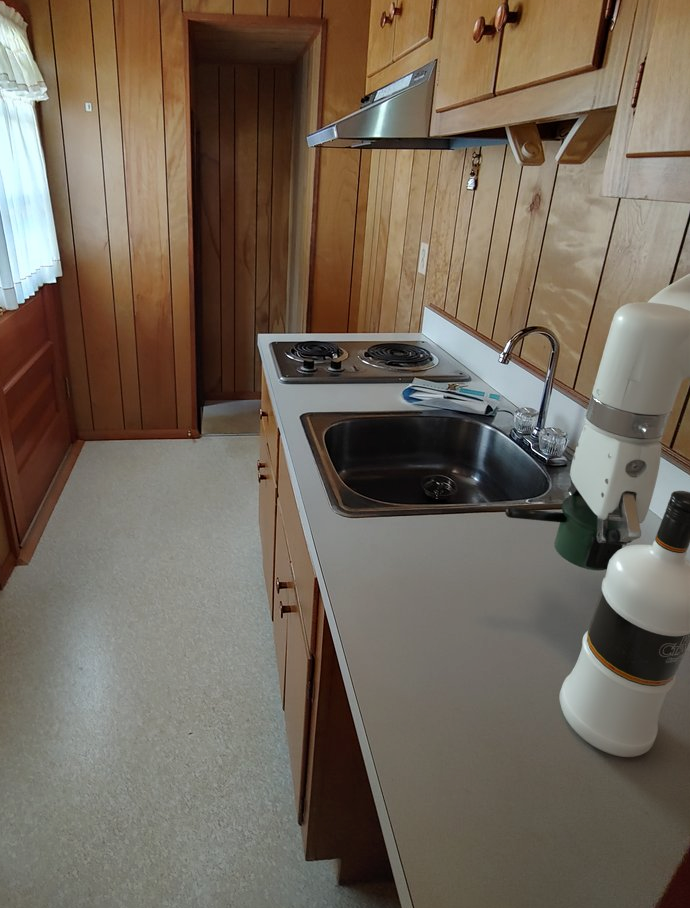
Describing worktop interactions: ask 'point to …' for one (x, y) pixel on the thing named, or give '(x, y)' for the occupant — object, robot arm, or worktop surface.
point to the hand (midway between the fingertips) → (586, 544)
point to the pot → (569, 527)
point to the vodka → (634, 640)
